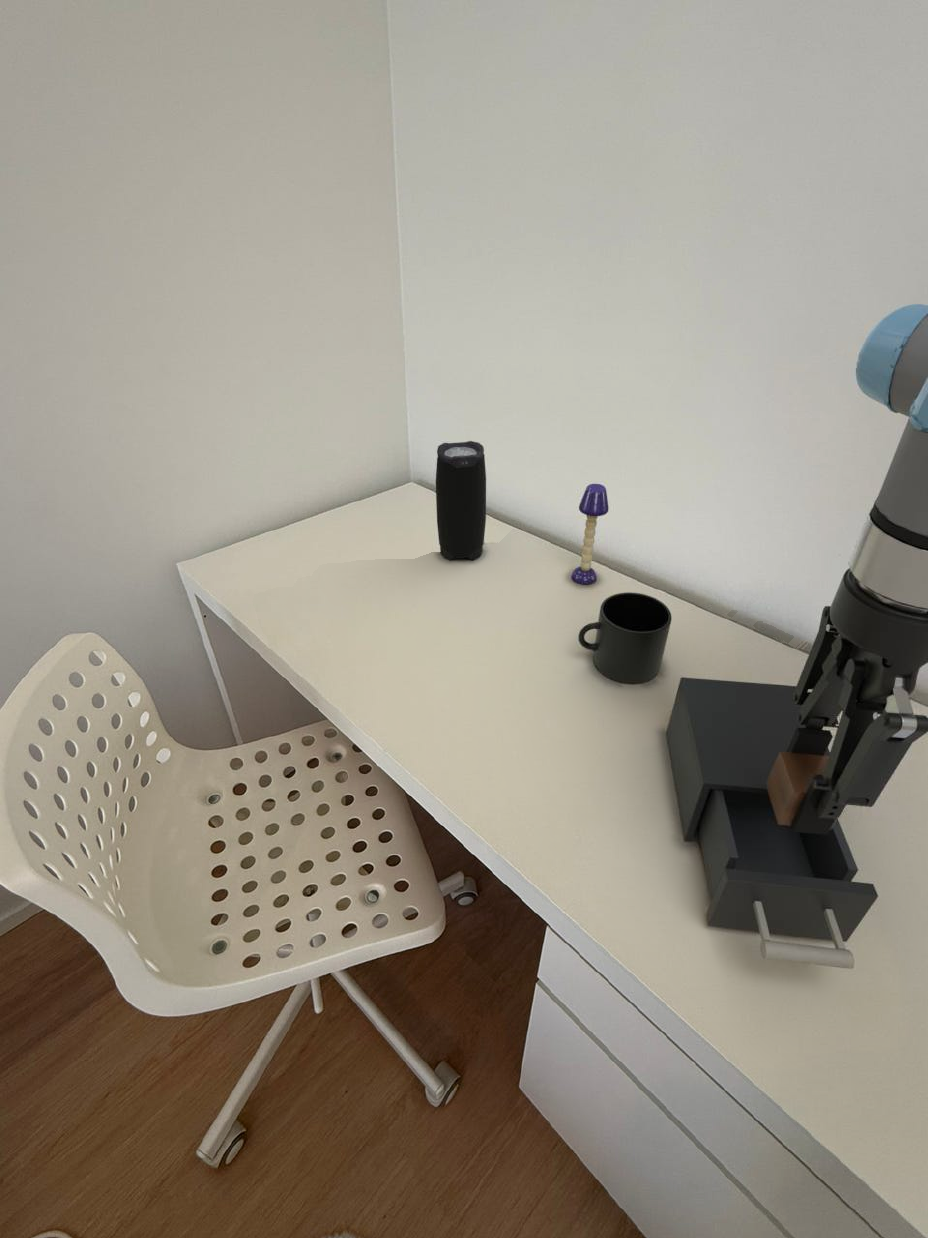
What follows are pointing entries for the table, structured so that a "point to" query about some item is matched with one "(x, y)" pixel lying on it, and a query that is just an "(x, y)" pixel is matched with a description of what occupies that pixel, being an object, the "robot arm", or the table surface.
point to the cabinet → (726, 740)
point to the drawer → (780, 879)
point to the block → (792, 782)
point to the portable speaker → (461, 499)
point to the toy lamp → (590, 529)
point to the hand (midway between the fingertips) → (799, 804)
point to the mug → (629, 637)
